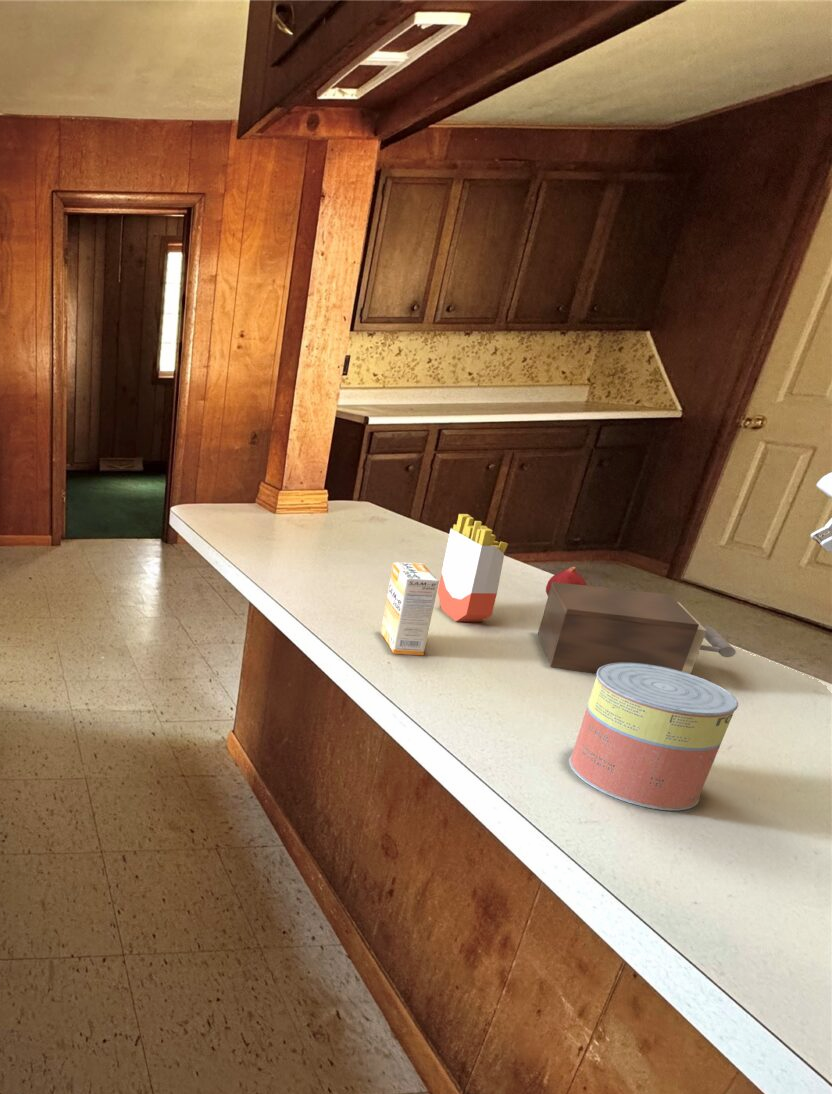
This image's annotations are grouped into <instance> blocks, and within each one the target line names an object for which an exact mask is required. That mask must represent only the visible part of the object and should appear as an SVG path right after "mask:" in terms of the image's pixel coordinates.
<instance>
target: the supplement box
mask: <svg viewBox="0 0 832 1094" xmlns="http://www.w3.org/2000/svg"><path fill="white" fill-rule="evenodd" d="M439 583H440V579H438V578H437V577H436V576H435V575H434V574H433V573H432V571H430V569H428V567H426V565H425V564H424V563H422V562H421V563H420V562H404V561H403V562H399V561H397V562H392V567H391V573H390V578H389V584H388V590H387V595H386V601H385V607H384V611H383V617H382V624H381V629H380V634H381V636H382V637H383V638H384V640H385V641H386V643H387V645H388V646H389V649H390V651H391V652H392V654H394V655H410V656H424V654H425V649H426V645H427V640H428V635H429V630H430V625H431V621H432V616H433V611H434V607H435V602H436V598H437V594H438V588H439Z"/></svg>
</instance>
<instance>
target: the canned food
mask: <svg viewBox="0 0 832 1094" xmlns="http://www.w3.org/2000/svg"><path fill="white" fill-rule="evenodd" d="M738 708H739V701H738V699H737V698H736V697H735V696H734V695H733V694H732V693H731V692H730V691H728V690H727V689H725V688H723V687H722V686H721V685H718V684H716V683H715V682H712V681H710V680H707V679H705V678H702V677H701V676H698V675H694V674H692V673H691V674H688V673H685V672H682V671H678V670H674V669H670V668H665V667H661V666H655V665H649V664H641V663H611V664H607V665H604V666H602V667H600V668H599V669H598V670H597V674H596V677H595V681H594V684H593V686H592V690H591V693H590V697H589V699H588V703H587V705H586V709H585V712H584V715H583V718H582V721H581V725H580V727H579V732H578V734H577V738H576V741H575V743H574V746H573V749H572V753H571V754H570V756H569V759H568V764H569V767H570V768H571V771H573V773H574V774H575V776H578V778H580V779H581V781H583V782H584V783H586V784H587V785H589V786H590V787H592V788H594V789H596V790H598V791H599V792H601V793H603V794H605V795H607V796H609V797H611V798H614V799H617V800H620V801H622V802H625V803H628V804H631V805H635V806H638V807H643V808H647V809H653V810H658V811H669V812H670V811H671V812H673V811H675V812H676V811H684V810H690V809H691V808H694V807H695V806H697V805H698V803H699V801H700V799H701V798H700V795H701V793H702V791H703V789H704V787H705V783H706V781H707V779H708V776H709V774H710V772H711V770H712V766H713V764H714V762H715V759H716V757H717V755H718V752H719V750H720V746H721V745H722V742H723V740H724V737H725V735H726V732H727V730H728V728H729V726H730V724H731V721H732V718H733V716H734V713H735V711H736V710H737V709H738Z"/></svg>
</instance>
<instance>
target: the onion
mask: <svg viewBox="0 0 832 1094" xmlns="http://www.w3.org/2000/svg"><path fill="white" fill-rule="evenodd" d="M552 582H557V583H567V584H576V585H585V586H588V583H587V582H586V580H585V579H584V577H583V576H582V575H581V574H580V573H579V572H577V567H576V566H570V567H568V568H567V569H565V570H562V571H560V572H557V573H555V574H554V575H553V576H551V577H550V578H549V580H548V581H547V583H546V586H545V593H546V596H547V597H548V595H549V591H550V588H551V584H552Z"/></svg>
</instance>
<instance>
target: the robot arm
mask: <svg viewBox="0 0 832 1094" xmlns="http://www.w3.org/2000/svg"><path fill="white" fill-rule="evenodd" d="M815 486H816V487H817V488H818V489H819V490H820V491H821V492H822V493H823V494H824V495H825V496H827V497H828V498H829V499H831V500H832V471H831V472H829V473H827V474H825V475H823V476H822V477H821V478H820V479H819V480H818V481H817V483H816V484H815ZM809 536H810V538H811V539H813V540H814V541H815V542H816V543H817V544H818V545H820V546H821V547H822V548H823V549H824V550H826V551H827V552H829V553H832V517H831V518H830V519H829V520H828V521H827V522H826V524H824V526H823V527H821V528H819V529H817V530H815V531H814V532H812V533H811V534H810V535H809Z"/></svg>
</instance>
